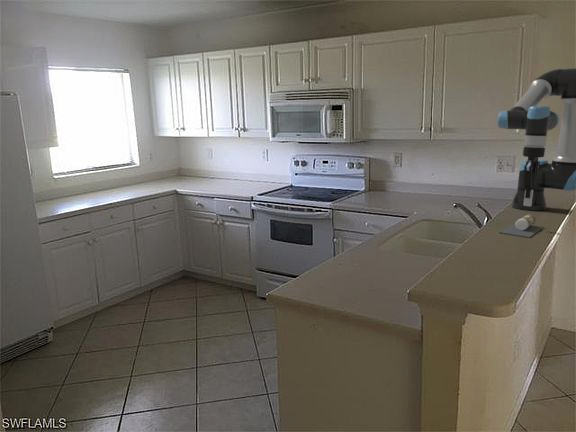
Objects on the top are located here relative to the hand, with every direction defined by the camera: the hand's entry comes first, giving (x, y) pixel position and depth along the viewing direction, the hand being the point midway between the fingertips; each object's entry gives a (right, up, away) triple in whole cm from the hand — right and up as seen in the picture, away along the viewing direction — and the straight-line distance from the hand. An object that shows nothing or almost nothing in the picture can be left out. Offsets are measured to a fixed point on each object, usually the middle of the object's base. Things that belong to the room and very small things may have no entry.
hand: (527, 205), depth 193 cm
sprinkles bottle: (+5, -6, +7) cm, 10 cm away
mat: (-3, -10, -1) cm, 10 cm away
